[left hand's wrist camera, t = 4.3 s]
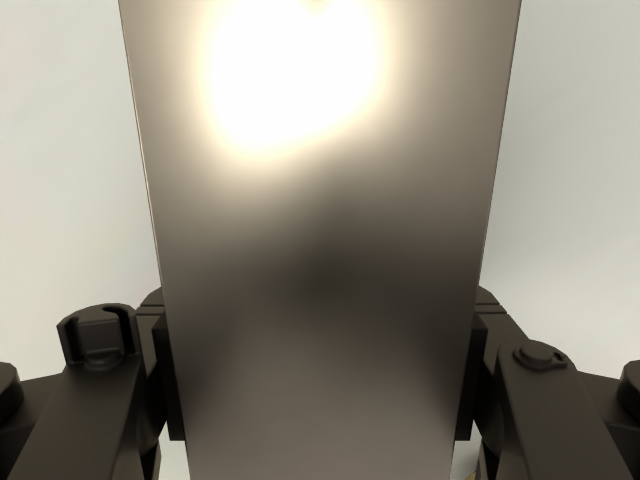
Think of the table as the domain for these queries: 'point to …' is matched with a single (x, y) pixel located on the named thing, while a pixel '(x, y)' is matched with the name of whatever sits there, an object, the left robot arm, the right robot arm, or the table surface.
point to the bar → (319, 222)
